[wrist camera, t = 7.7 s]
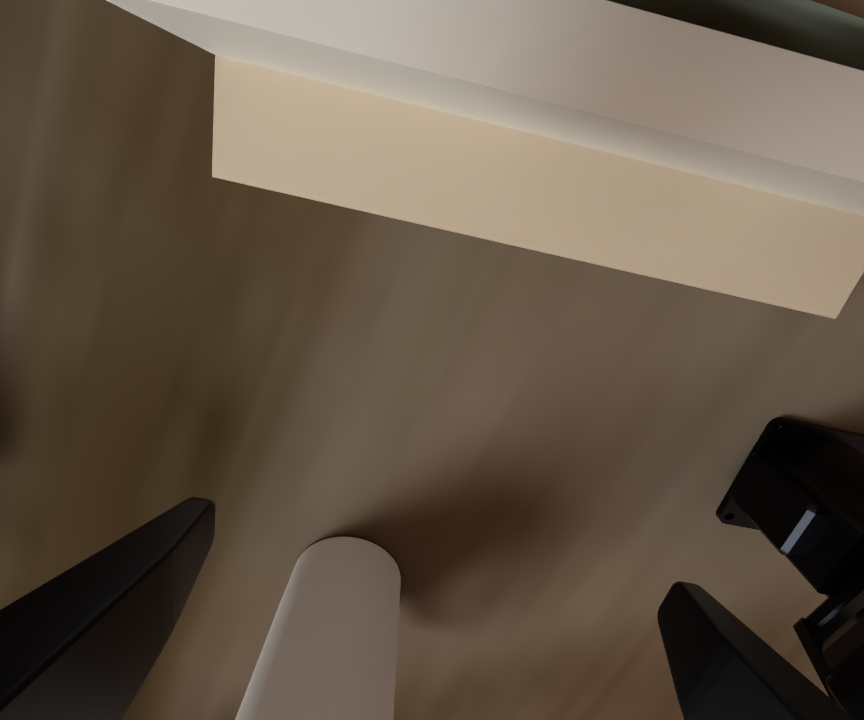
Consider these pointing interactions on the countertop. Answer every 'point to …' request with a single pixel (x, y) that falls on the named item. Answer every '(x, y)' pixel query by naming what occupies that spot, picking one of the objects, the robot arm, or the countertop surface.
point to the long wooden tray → (549, 132)
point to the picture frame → (777, 23)
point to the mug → (331, 638)
